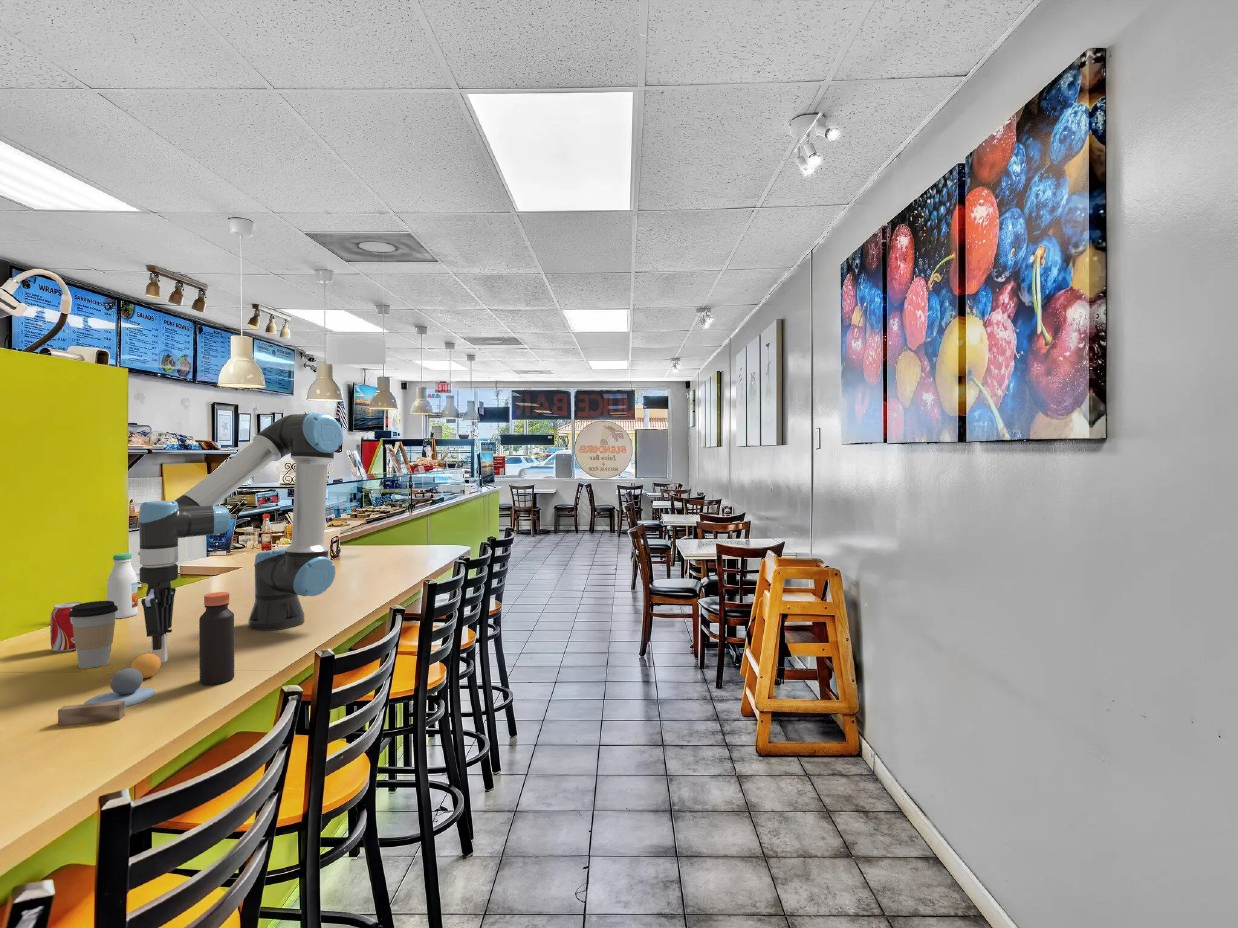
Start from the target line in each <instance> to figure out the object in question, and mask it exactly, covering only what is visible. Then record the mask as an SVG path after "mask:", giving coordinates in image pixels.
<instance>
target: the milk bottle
mask: <svg viewBox="0 0 1238 928" xmlns="http://www.w3.org/2000/svg"><path fill="white" fill-rule="evenodd" d="M112 559H113V567H112V569H111V571H110V573H109V575H108V578H107V581H106V582H107V584H106V601H113V602H114V604H115V605H116V606H117V608H118V610H117V611H116V612H115V620H116V619H124V618H131V617H134V616H136V615H138V614H139V612H138V611H139V602H138V601H139V598H138V597H139V593H138V592H139V591H138V590H139V586H138V585H139V583H138V582H139V581H138V576H137V573H136V571H135V570H134V568H133V566H132V563H131V561H132V554H131V553H129V552H128V553H116V554H113V556H112Z"/></svg>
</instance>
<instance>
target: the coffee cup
mask: <svg viewBox="0 0 1238 928" xmlns="http://www.w3.org/2000/svg"><path fill="white" fill-rule="evenodd" d="M117 610H118V608H117V606H116V605H115V604H114V602H113V601H107V600H98V601H97V600H96V601H95V600H94V601H87V602H82V604H78V605H75V606H73V607H72V610H71V611H70V612H69V615H68V616H69V617H72V619H73V632H74V640H75V647H76V649H77V650H76V653H77V661H78V668H80V669H84V668H85V669H93V668H94V667H95V668H99V667H103V666H107V665H108V664H110V663H111V662H110V660H111V656H112V655H111V653H112V646H113V643H114V635H115V628H116V627H115V625H116V619H115V612H116V611H117ZM102 665H103V666H102Z"/></svg>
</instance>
